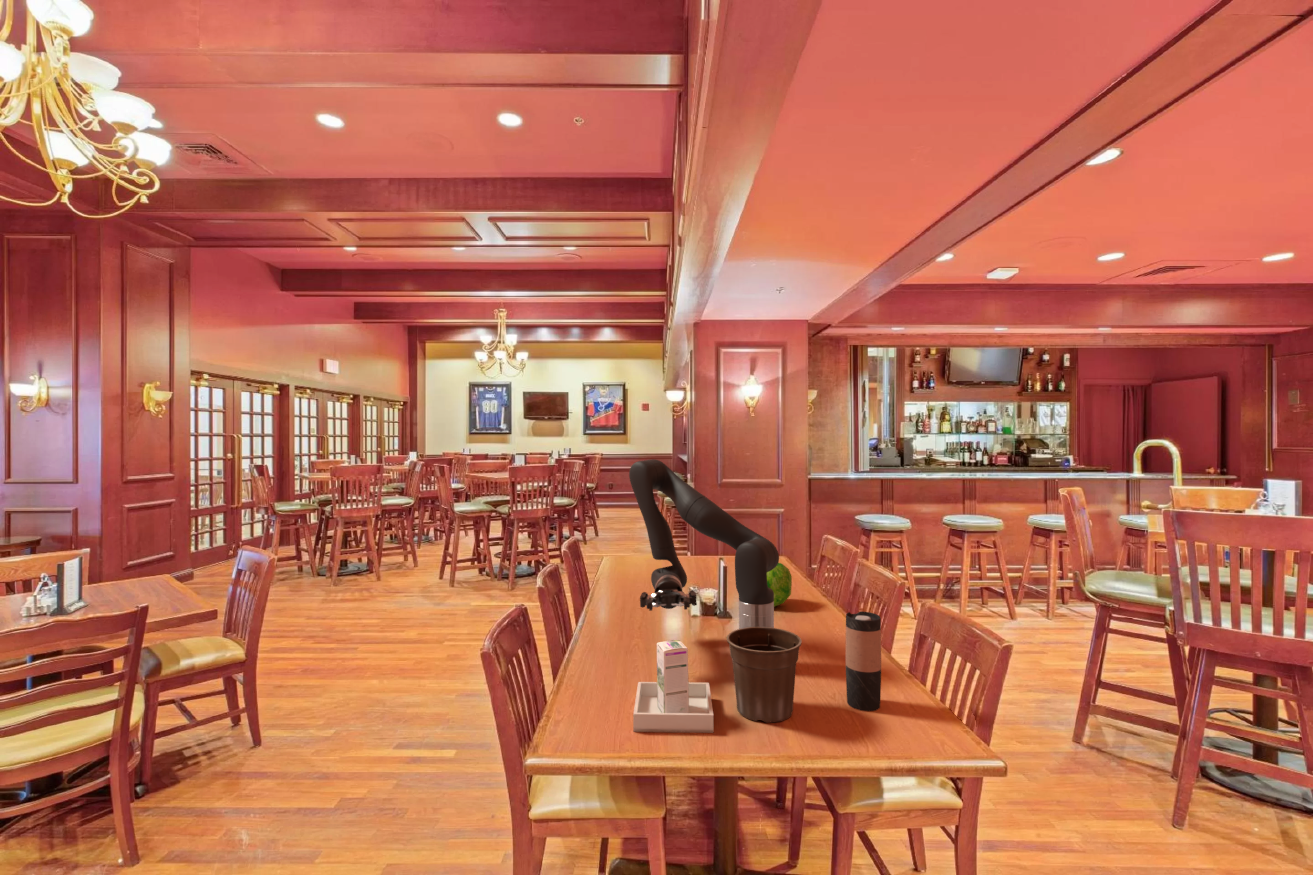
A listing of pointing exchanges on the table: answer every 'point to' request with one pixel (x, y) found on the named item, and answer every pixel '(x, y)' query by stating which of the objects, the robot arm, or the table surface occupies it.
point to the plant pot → (764, 671)
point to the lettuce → (780, 583)
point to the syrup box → (672, 677)
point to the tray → (654, 720)
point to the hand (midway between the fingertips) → (668, 605)
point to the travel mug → (863, 660)
